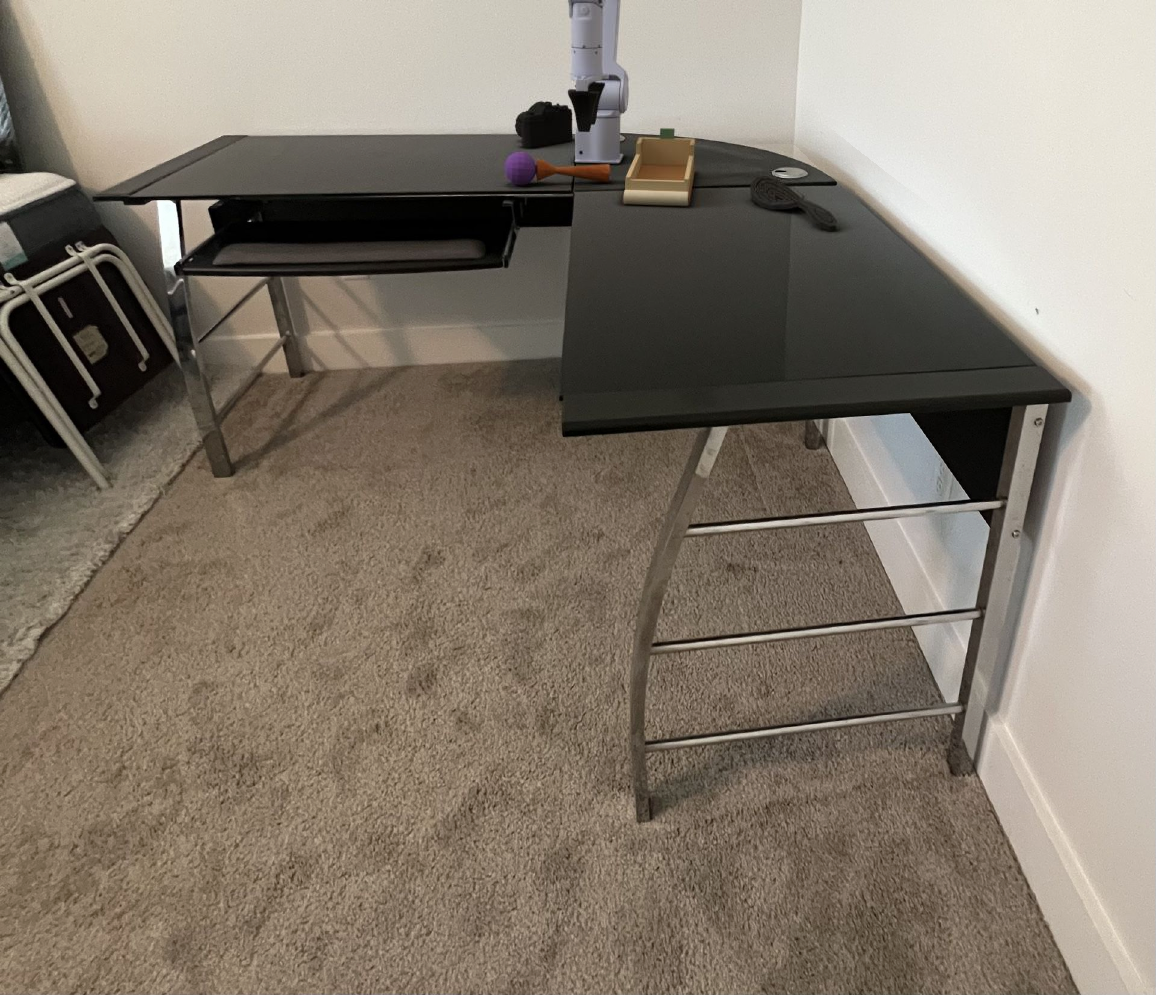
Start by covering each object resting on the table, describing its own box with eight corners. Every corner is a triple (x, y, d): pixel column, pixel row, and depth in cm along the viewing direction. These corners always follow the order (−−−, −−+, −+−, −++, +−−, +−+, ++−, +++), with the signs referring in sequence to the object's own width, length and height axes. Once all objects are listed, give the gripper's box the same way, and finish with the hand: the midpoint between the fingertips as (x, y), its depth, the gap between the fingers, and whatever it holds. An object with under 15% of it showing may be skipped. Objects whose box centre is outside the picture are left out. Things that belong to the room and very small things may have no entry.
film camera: (550, 134, 203) (550, 94, 198) (577, 140, 197) (577, 98, 192) (501, 143, 195) (499, 101, 190) (528, 150, 189) (526, 106, 184)
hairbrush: (813, 215, 133) (742, 172, 152) (808, 238, 135) (739, 193, 154) (858, 211, 135) (783, 169, 154) (853, 234, 137) (779, 190, 156)
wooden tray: (688, 207, 148) (692, 157, 143) (621, 205, 149) (623, 156, 145) (694, 172, 170) (697, 128, 165) (636, 170, 171) (637, 127, 167)
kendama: (612, 164, 158) (505, 158, 156) (608, 195, 163) (504, 189, 160) (608, 151, 163) (504, 145, 160) (604, 181, 167) (504, 176, 164)
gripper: (604, 51, 145) (603, 135, 153) (613, 43, 157) (611, 121, 165) (564, 50, 146) (565, 134, 154) (576, 42, 158) (576, 120, 166)
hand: (586, 128), depth 159 cm, fingers open, 7 cm apart
